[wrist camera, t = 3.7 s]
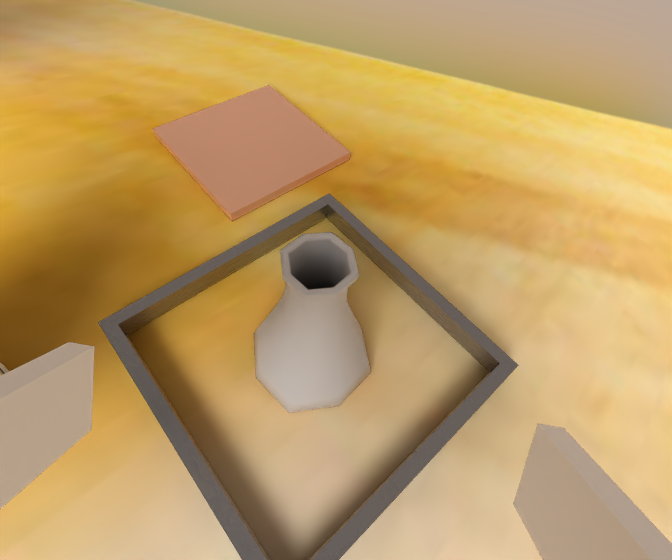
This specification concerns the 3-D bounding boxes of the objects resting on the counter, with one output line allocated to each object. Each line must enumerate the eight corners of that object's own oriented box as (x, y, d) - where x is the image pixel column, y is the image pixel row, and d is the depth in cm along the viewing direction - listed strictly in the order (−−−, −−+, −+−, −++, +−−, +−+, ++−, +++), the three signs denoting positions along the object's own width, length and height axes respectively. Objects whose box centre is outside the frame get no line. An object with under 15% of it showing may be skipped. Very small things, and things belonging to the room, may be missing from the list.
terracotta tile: (155, 136, 33) (152, 128, 33) (269, 92, 38) (268, 84, 38) (232, 221, 29) (230, 213, 28) (349, 159, 34) (350, 152, 33)
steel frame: (108, 333, 24) (98, 322, 22) (328, 207, 31) (329, 193, 29) (281, 615, 17) (280, 622, 16) (507, 373, 24) (518, 365, 23)
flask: (235, 329, 24) (203, 225, 16) (335, 288, 27) (353, 179, 18) (280, 437, 21) (270, 378, 13) (390, 380, 24) (442, 299, 15)
